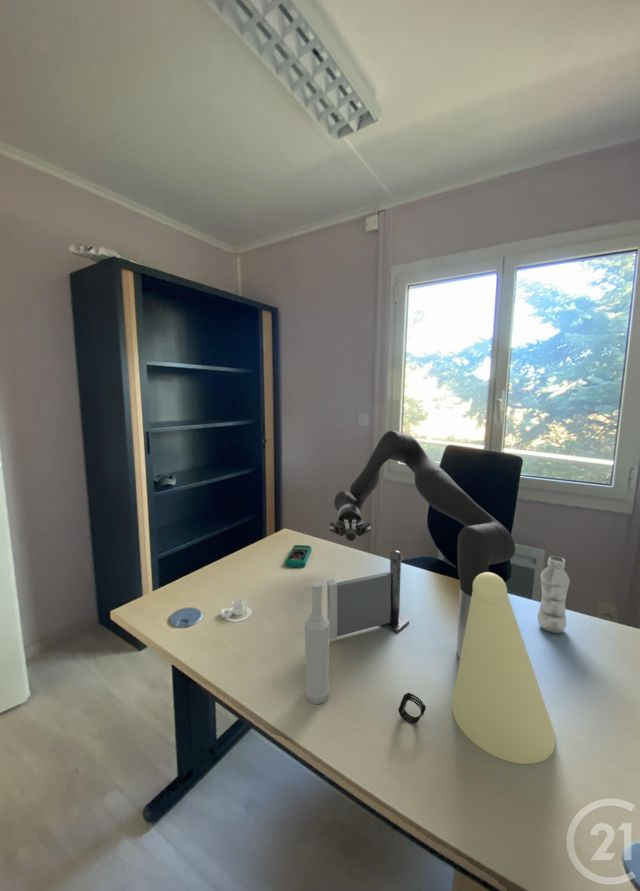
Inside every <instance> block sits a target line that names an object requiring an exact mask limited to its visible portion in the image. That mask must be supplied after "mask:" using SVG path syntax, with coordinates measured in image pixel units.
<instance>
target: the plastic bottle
mask: <svg viewBox="0 0 640 891" xmlns="http://www.w3.org/2000/svg"><path fill="white" fill-rule="evenodd" d="M565 569H566V560H565V559H564V558H563V557H559V556H556V555H555V556H553V555H551V556H549V557H548V561H547V567H545V568H544V569H543V570H542V572H541V573H540V582H541V584H540V585H541V601H540V606H539V609H538V612H537V623H538V625H539V626H540V628H542V629H543V630H545V631H547V632H549V633H554V634H561V633H563V632H564V631H565V630H566V627H567V616H566V599H567V593H568V590H569V586H570V582H571V580H570V577H569V576H568V574H567V572H566V571H565Z"/></svg>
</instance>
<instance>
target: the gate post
mask: <svg viewBox="0 0 640 891" xmlns="http://www.w3.org/2000/svg"><path fill="white" fill-rule="evenodd" d="M388 559H389V562H390V563H389V564H390V565H389V567H390V568H389V573H390V574H391V605H390V623H386V624H383V625H381V626H382V627H385V628H386V629H388V630H391V631H392V632H394V633H397V634H399V633H400V632H401V631H402V630H403V629H404V628H405V627H407V626H408V625H409V624H410V620H409V619H407V618H406V617H403V616H400V609H401V608H400V606H401V603H400V602H401V601H400V600H401V573H402V572H401V568H402V561H403V554H402V552H401V551H399V550H397V549H394V550H391V551H390V552H389V554H388Z"/></svg>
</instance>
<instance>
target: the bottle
mask: <svg viewBox="0 0 640 891" xmlns="http://www.w3.org/2000/svg"><path fill="white" fill-rule="evenodd" d="M322 593H323V583H322V582H320V581H314V582H312V583H311V597H312V598H311V607H312V608H311V611H312V612H311V614H310V616H309V617H307V618H306V619H305V621H304V650H305V678H306V679H305V685H304V686H305V688H304V691H305V692H304V693H305V697H306V699H307V700H308V701H309V702H310V703H312V704H314V705H319V704H323V703H325V702H327V700H328V698H329V697H330V685H329V665H330V664H329V658H330V638H329V620H328V619H327V617H325V616H324V613H323V610H322V609H323V605H322V604H323V603H322V601H323V600H322V599H323V596H322V595H323V594H322Z"/></svg>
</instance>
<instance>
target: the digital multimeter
mask: <svg viewBox="0 0 640 891" xmlns="http://www.w3.org/2000/svg"><path fill="white" fill-rule="evenodd" d="M311 553H312V546H310V545H303V544H295V545H293V546H292V548H291V550H290V552H289V554H288V556H287V558H286V559H285V560H284V561H285V562H284V563H285V564H284V566H285V567H289V568H305V567H306V565H307V562H308V560H309V558H310V554H311Z"/></svg>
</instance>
